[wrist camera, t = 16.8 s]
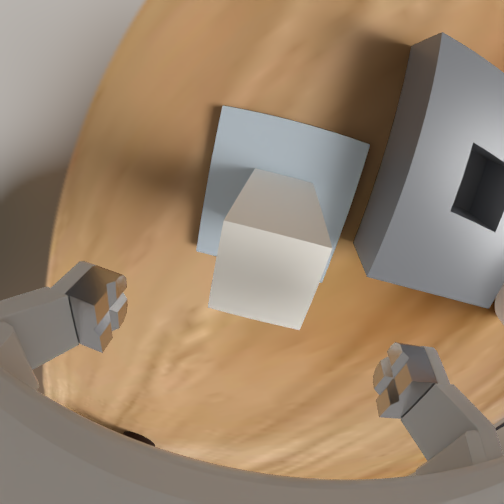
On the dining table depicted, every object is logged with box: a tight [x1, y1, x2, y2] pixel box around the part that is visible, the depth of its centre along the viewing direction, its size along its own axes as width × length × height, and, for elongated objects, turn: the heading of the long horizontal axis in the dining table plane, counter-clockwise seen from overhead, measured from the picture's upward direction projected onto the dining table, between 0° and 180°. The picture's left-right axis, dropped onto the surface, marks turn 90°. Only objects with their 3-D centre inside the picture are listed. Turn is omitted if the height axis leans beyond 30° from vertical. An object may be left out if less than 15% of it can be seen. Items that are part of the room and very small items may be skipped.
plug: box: [208, 168, 332, 330], centre depth 16 cm, size 4×4×10 cm
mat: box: [196, 106, 370, 283], centre depth 21 cm, size 11×10×1 cm
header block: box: [353, 32, 504, 309], centre depth 16 cm, size 16×12×5 cm
